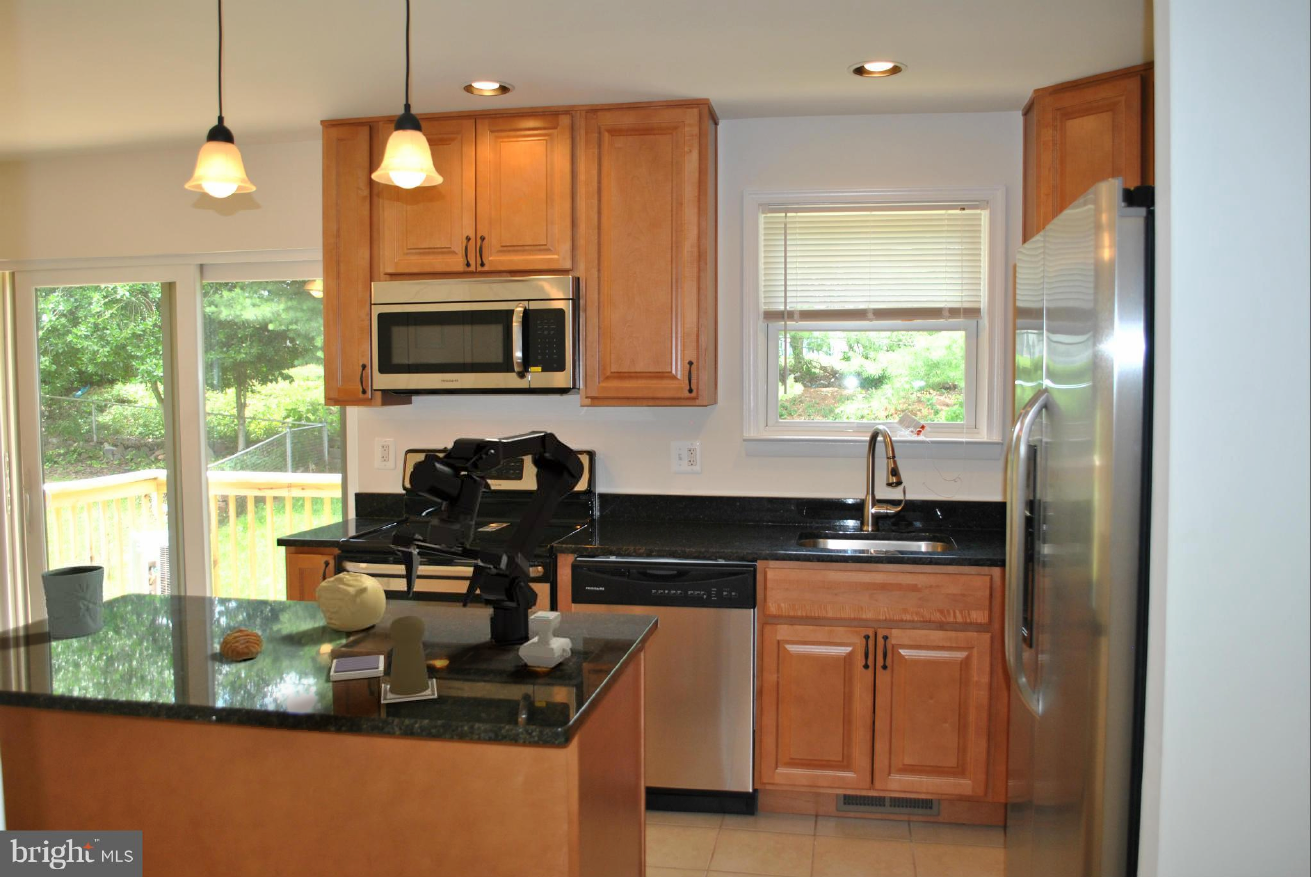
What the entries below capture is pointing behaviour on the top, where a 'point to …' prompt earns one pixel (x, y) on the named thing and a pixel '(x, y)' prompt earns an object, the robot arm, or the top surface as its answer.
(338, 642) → the top surface
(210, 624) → the top surface
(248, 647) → the pastry
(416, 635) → the brown peg figure
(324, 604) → the sculpture
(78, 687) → the top surface
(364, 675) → the ink pad
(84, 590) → the grey cup
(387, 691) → the white flat square piece
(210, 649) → the top surface
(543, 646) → the stamp
